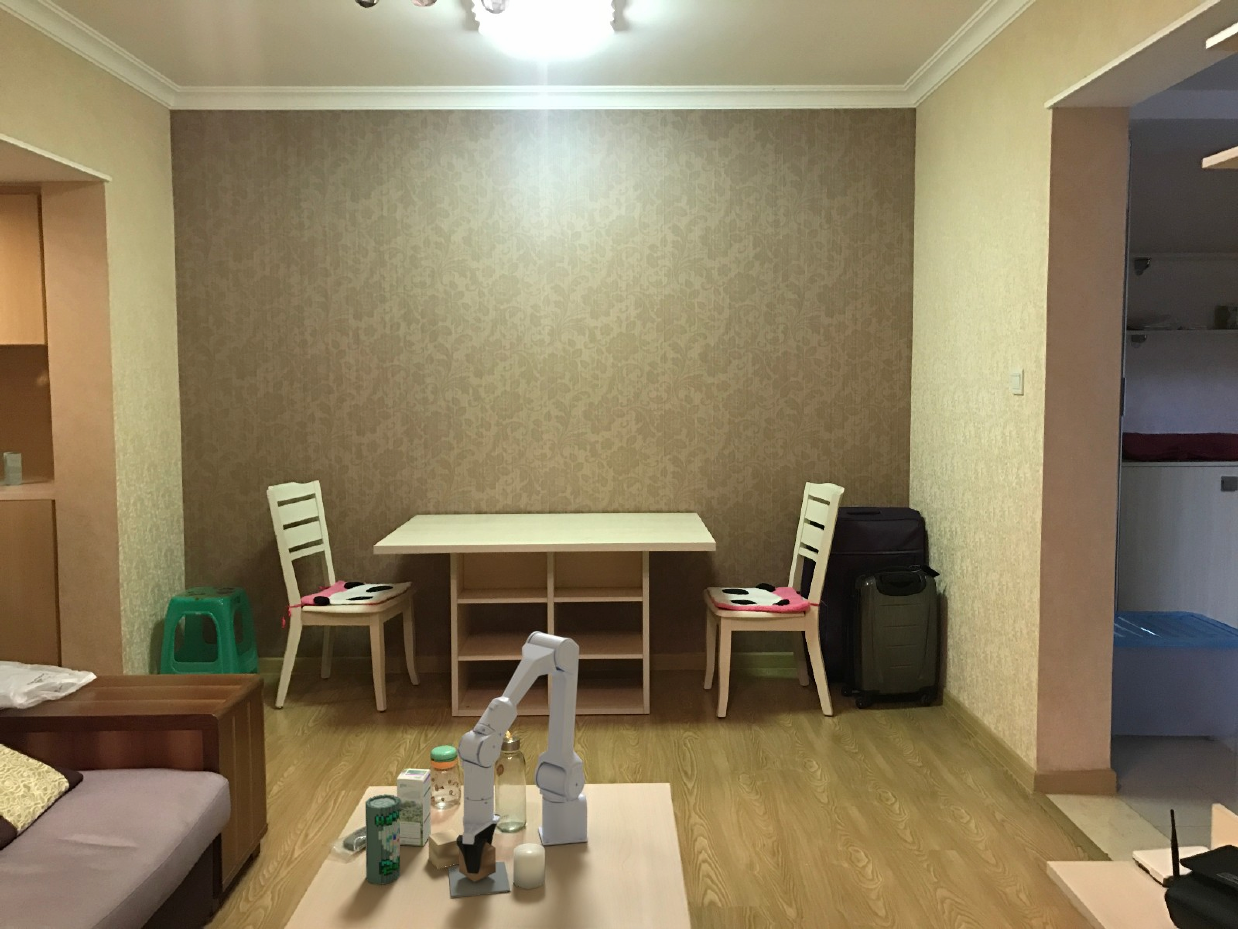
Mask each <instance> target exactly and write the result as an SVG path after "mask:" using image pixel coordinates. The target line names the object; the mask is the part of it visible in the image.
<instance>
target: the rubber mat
mask: <svg viewBox="0 0 1238 929" xmlns="http://www.w3.org/2000/svg"><path fill="white" fill-rule="evenodd" d="M507 872H508V871H507V868H506V862H505V861H497V862H496V872H495V873H493V874H491V875H489V876H486V877H484V878H482V879H480V880H477V881H475V882H474V881H472V880H471V879H469V878H468V877H466V876H465V875H463V874H462V873H460V872H459V865H452V866H448V878H449V889H450V898H451V899H453V898H452V897H454V898H461V897H463V898H464V897H472V896H473V895H474V896H479V895H478V894H484V895H488V894H487V893H494V894H499V892H503V893H507V892H506V891H509V892H508V893H510V892H511V885H510V881H509V878H508V873H507Z"/></svg>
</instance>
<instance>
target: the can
mask: <svg viewBox="0 0 1238 929" xmlns="http://www.w3.org/2000/svg"><path fill="white" fill-rule="evenodd" d="M365 870H366V871H365V880H366V881H367V882H368V883H370V884H373V885H379V886H381V885H387V884H390V883H393V882H394V881H395V882H396V881H397V880H398V879H399V877H400V876H401V845H400V801H399V799H398V798H397V795H393V794H386V793H385V794H378V795H373V796H372V797H369V798H368V799H367V800H366V801H365Z"/></svg>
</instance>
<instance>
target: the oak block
mask: <svg viewBox="0 0 1238 929" xmlns="http://www.w3.org/2000/svg"><path fill="white" fill-rule="evenodd" d="M458 836H459V835H458V833H456V831H454V829H453V828H451V829H448V830H443V831H440V832H435V833H431V835H429V838H428V859H429V861H430V860H431V861H432V862H433V863H434V864H433V863H432V862H431V861H430V862H431V863H432V864H433V865H434V866H435V867H436V869H437V870H441V869H444V868H443V867H445V866H448V867H451V866H450V865H452V866H454V865H453V864H455V865H458V864H457V863H459V847H458V845H457V842H456V839H457V837H458ZM440 868H441V869H440ZM445 868H446V867H445Z"/></svg>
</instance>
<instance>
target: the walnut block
mask: <svg viewBox="0 0 1238 929" xmlns="http://www.w3.org/2000/svg"><path fill="white" fill-rule="evenodd" d="M496 853H497V852H496V847H495V846H494V845H493V844H492V845H491V844H489V843H487V842H486V844H485V846H484V849H483V853H482V858H481V866H480V870H479V873H478V874H472V873H468V872H467V869H466V865H465V861H464V857H463V854H462V852H461V850H460V848H459V864H458V866H459V872H460V873H462V874H463V875H465V876H466V877H468V878H469V879H471V880H472V881H474V882H475V881H477V880H480V879H482V878H484V877H486V876H489V875H491V874H493V873H495V872H496V861H497V860H496V858H497V856H496V855H497V854H496Z"/></svg>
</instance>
